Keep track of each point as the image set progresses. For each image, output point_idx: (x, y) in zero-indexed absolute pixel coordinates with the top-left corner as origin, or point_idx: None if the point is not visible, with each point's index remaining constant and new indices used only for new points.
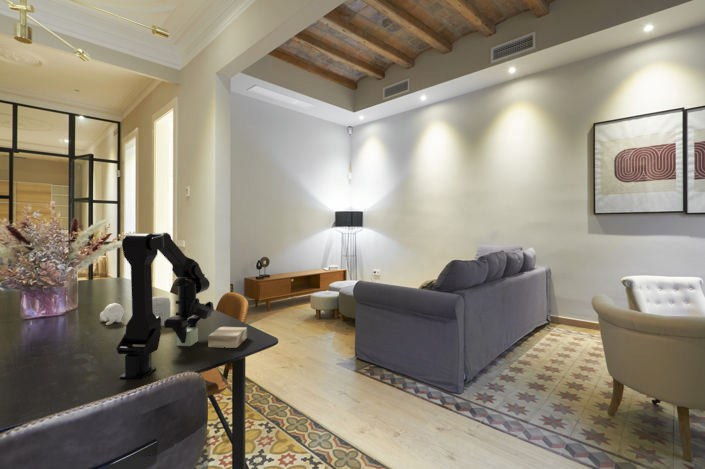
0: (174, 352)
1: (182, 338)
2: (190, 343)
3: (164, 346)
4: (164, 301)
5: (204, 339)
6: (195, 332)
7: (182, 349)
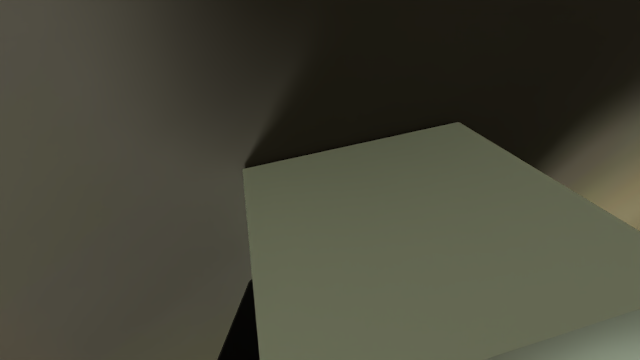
0: (630, 156)
1: None
2: (483, 138)
3: None
4: None
5: (119, 117)
6: (390, 271)
7: (559, 138)
